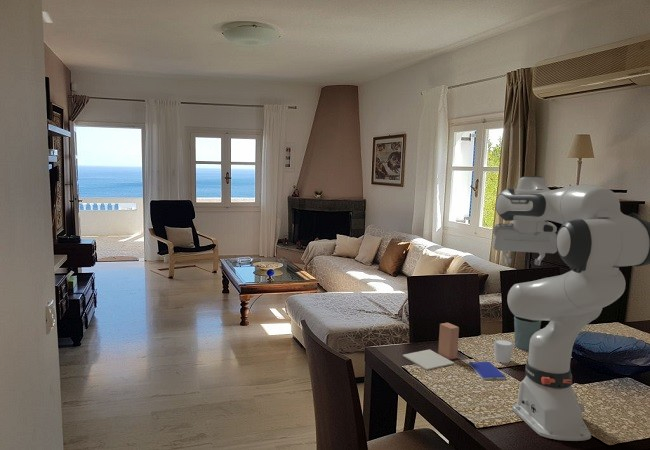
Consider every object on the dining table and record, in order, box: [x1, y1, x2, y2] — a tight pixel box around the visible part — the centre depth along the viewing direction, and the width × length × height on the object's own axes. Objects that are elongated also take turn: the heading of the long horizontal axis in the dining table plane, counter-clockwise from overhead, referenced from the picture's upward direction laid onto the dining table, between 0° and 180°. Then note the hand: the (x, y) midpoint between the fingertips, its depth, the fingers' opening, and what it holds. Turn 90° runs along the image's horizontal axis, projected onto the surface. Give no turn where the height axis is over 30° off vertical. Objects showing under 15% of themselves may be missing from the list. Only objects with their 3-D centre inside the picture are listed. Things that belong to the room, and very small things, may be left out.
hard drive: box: [468, 361, 507, 381], centre depth 168 cm, size 2×8×12 cm
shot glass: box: [493, 339, 515, 364], centre depth 178 cm, size 7×7×7 cm
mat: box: [402, 349, 456, 371], centre depth 177 cm, size 14×13×1 cm
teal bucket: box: [513, 315, 542, 352], centre depth 192 cm, size 10×10×12 cm
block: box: [437, 322, 460, 361], centre depth 180 cm, size 6×4×12 cm, turn 28°
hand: (522, 263), depth 161 cm, fingers open, 8 cm apart
